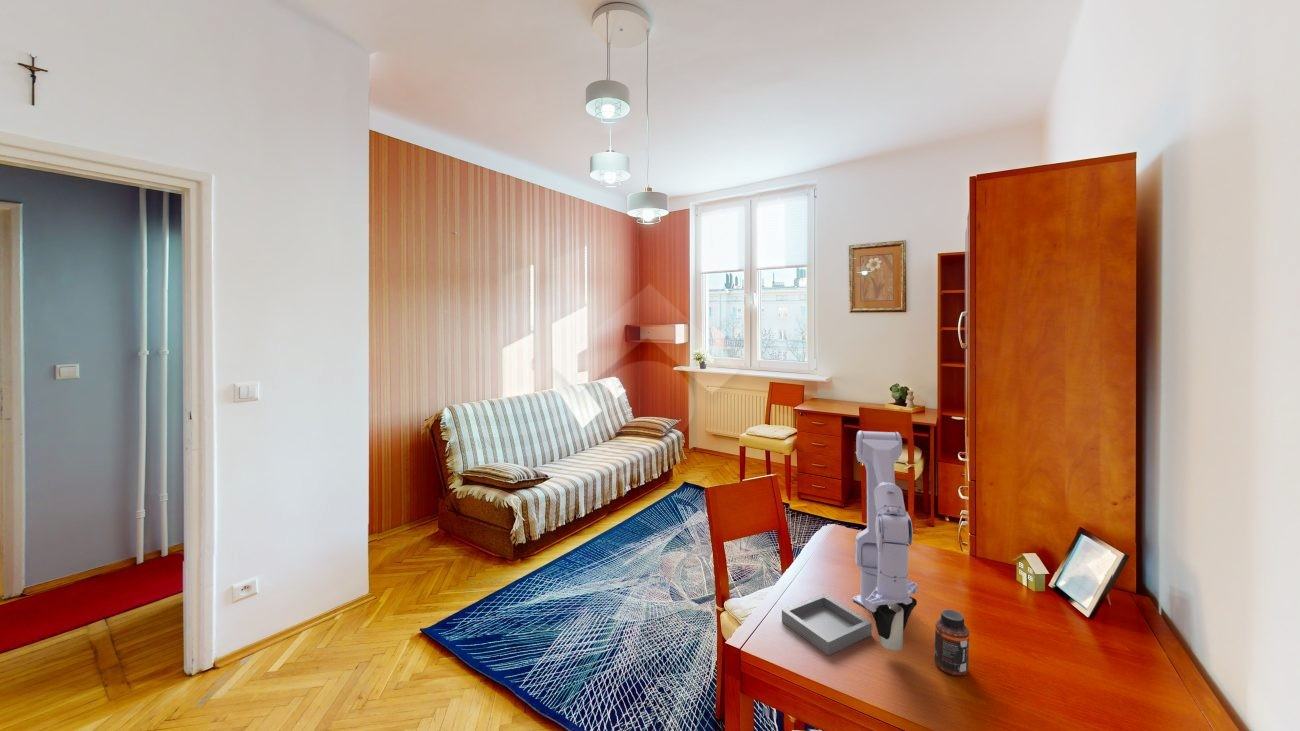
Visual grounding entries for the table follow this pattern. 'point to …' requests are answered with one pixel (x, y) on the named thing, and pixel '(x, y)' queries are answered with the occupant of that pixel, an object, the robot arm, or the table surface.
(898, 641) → the cup
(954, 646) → the supplement bottle
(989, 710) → the table surface
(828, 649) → the tray
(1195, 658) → the table surface
